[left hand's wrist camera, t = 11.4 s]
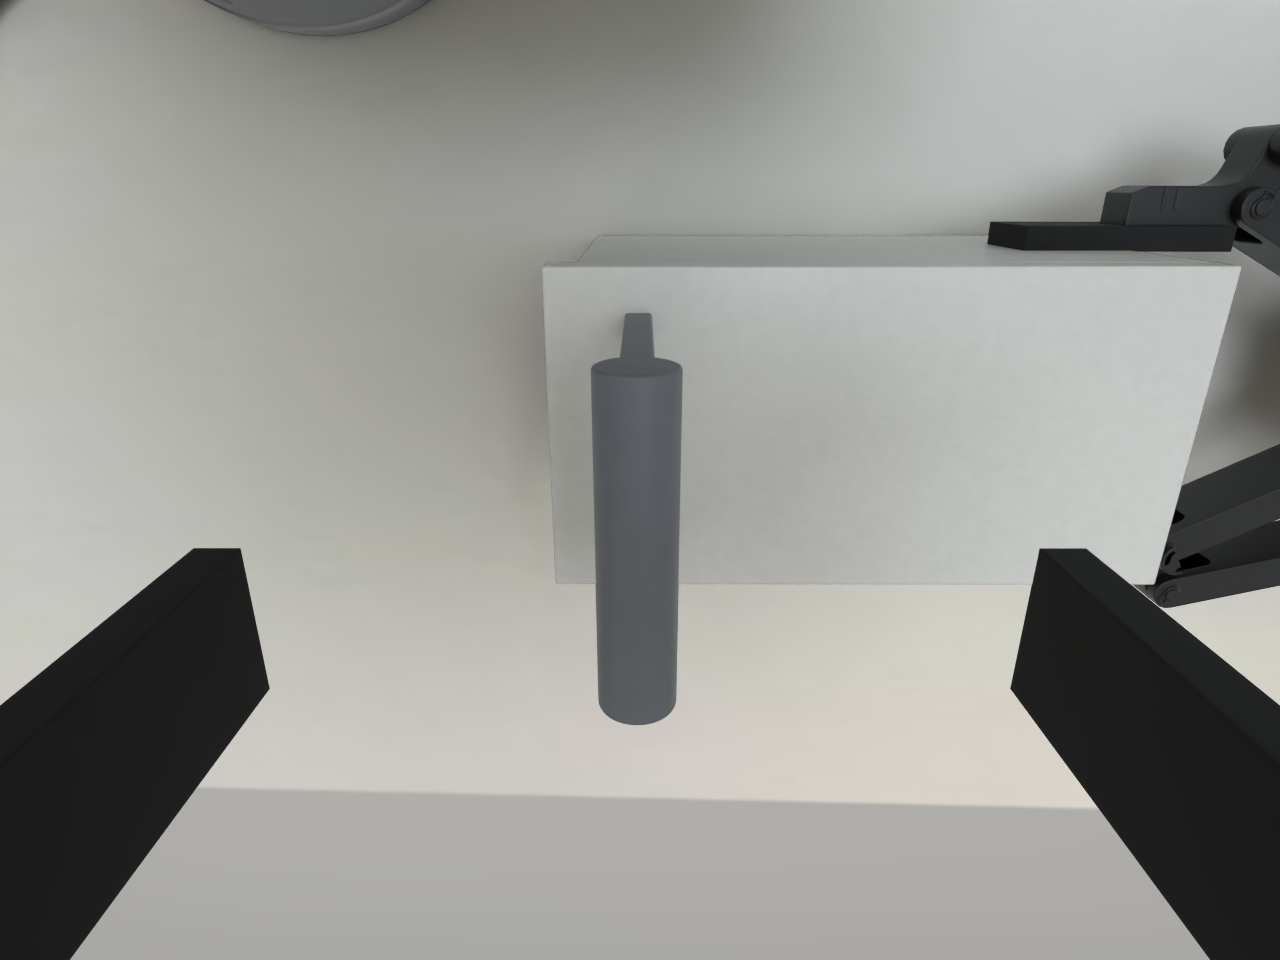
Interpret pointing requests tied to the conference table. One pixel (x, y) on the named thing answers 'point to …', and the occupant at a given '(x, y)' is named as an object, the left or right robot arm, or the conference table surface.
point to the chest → (836, 249)
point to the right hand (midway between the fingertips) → (981, 384)
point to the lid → (859, 428)
